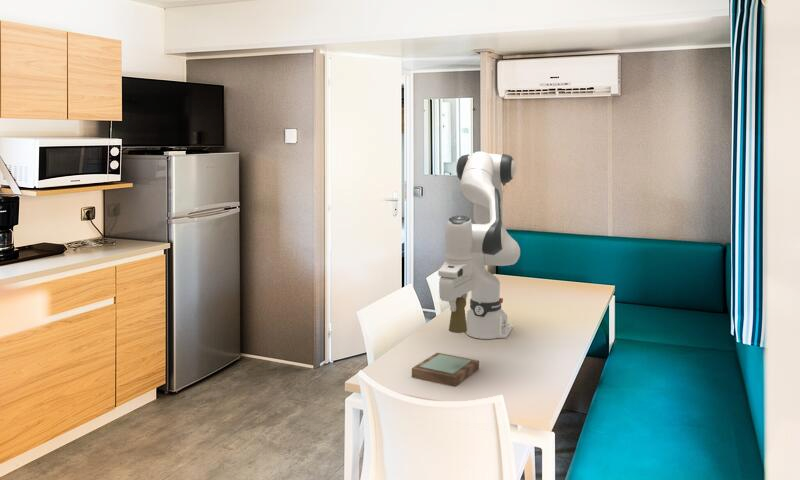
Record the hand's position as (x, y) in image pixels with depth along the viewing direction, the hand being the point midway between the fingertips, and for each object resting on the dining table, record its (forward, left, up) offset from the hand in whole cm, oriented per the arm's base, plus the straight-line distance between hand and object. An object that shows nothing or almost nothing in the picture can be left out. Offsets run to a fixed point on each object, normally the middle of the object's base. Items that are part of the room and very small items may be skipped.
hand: (458, 308), depth 212 cm
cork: (0, 0, -8) cm, 8 cm away
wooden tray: (0, -4, -23) cm, 23 cm away
